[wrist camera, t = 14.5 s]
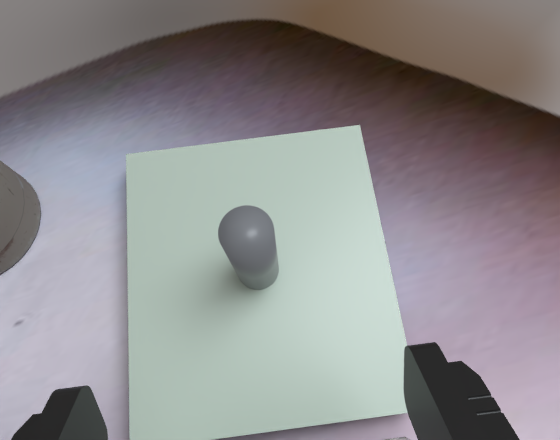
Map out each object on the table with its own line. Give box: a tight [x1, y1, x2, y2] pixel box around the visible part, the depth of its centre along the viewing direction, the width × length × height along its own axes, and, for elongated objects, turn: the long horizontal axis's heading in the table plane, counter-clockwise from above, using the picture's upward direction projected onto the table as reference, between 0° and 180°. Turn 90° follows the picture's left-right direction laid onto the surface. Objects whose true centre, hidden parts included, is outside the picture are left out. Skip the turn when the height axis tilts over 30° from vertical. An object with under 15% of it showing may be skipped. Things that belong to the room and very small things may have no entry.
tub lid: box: [126, 125, 408, 440], centre depth 23 cm, size 15×17×10 cm
